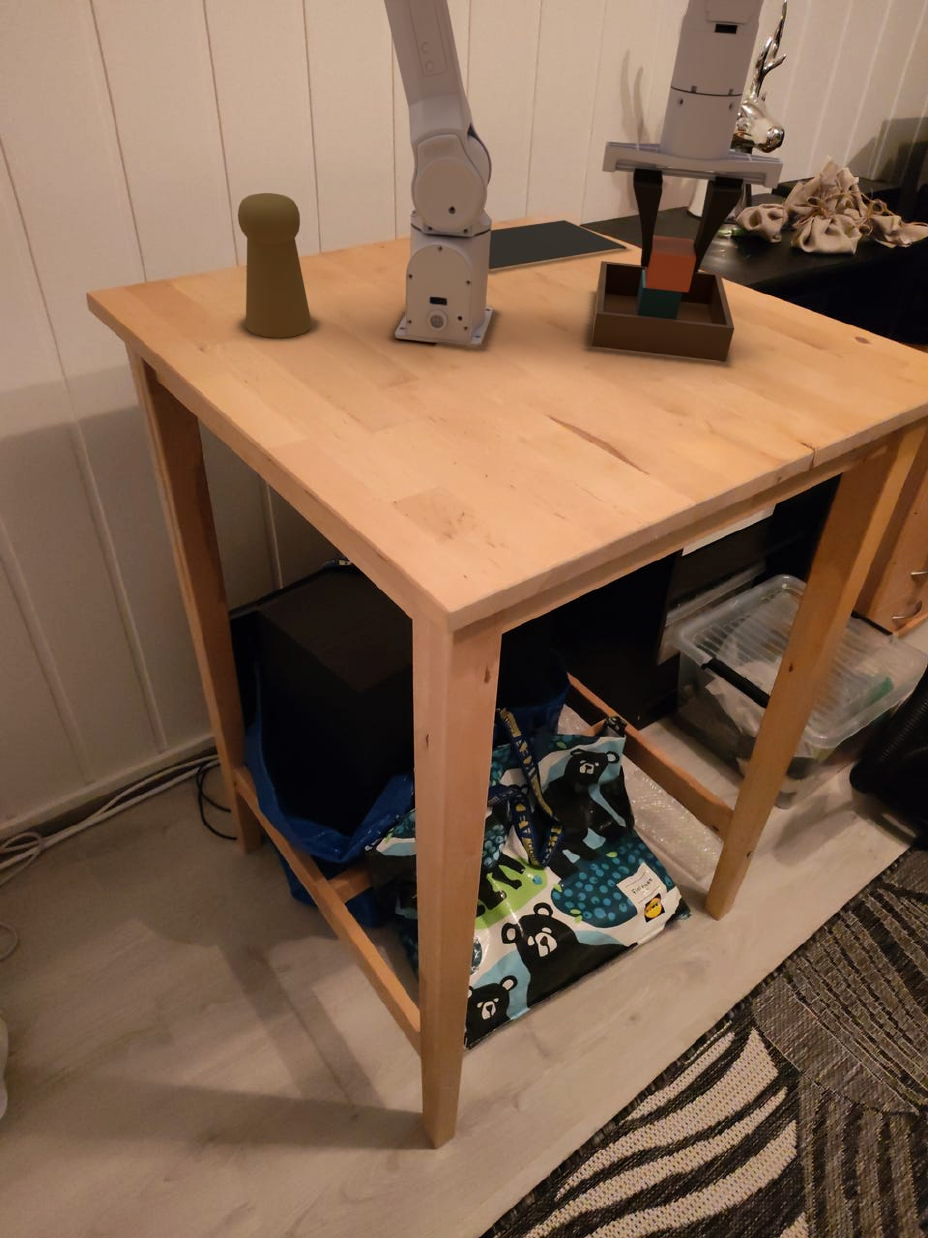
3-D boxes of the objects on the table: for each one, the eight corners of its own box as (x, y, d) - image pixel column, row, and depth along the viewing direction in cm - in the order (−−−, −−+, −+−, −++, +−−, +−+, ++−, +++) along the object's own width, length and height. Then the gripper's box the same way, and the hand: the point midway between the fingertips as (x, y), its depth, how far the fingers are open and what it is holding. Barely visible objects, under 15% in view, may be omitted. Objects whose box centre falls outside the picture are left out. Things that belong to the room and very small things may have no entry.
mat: (625, 250, 100) (626, 246, 100) (490, 272, 92) (490, 268, 91) (564, 223, 108) (564, 219, 108) (433, 241, 99) (433, 237, 99)
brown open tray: (724, 365, 76) (734, 328, 73) (590, 349, 77) (596, 313, 74) (712, 306, 87) (720, 273, 85) (596, 293, 88) (601, 260, 86)
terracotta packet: (688, 292, 74) (696, 257, 72) (645, 287, 74) (652, 252, 72) (685, 272, 78) (693, 239, 76) (644, 268, 78) (651, 234, 76)
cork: (306, 339, 75) (296, 207, 68) (238, 335, 75) (222, 202, 68) (316, 314, 80) (309, 188, 72) (253, 310, 79) (239, 184, 72)
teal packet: (675, 322, 82) (682, 291, 80) (636, 317, 82) (642, 287, 80) (673, 302, 86) (679, 273, 84) (636, 298, 87) (642, 269, 85)
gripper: (791, 90, 69) (746, 261, 77) (616, 74, 70) (590, 244, 79) (805, 104, 63) (754, 286, 72) (614, 87, 64) (587, 268, 73)
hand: (669, 266), depth 75 cm, fingers closed on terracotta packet, 4 cm apart
